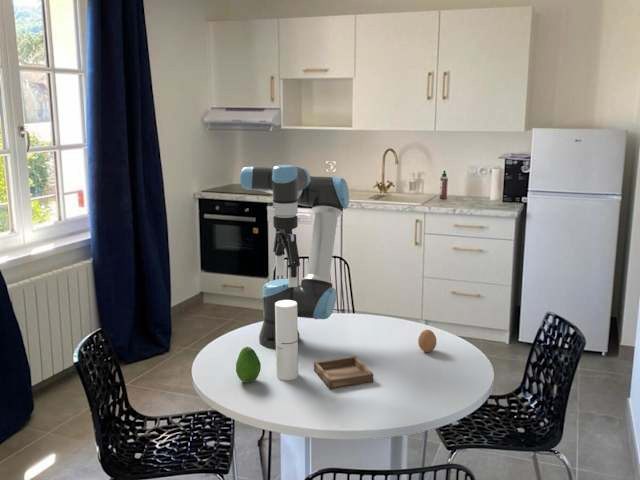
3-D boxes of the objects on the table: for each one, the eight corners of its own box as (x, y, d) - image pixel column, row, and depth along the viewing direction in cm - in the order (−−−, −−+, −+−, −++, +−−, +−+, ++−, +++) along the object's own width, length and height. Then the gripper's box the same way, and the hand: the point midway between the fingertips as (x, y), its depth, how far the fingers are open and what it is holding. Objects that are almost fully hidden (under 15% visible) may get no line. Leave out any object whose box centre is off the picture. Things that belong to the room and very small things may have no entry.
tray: (314, 370, 217) (313, 362, 217) (355, 364, 222) (355, 356, 222) (329, 389, 204) (329, 380, 203) (373, 382, 209) (373, 373, 208)
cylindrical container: (295, 381, 210) (294, 307, 204) (273, 379, 211) (272, 306, 205) (300, 371, 217) (299, 300, 211) (279, 370, 218) (278, 299, 212)
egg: (414, 350, 234) (414, 329, 232) (426, 346, 237) (427, 325, 235) (427, 356, 229) (428, 334, 227) (439, 352, 232) (440, 330, 230)
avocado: (237, 388, 205) (235, 352, 202) (235, 377, 213) (234, 343, 210) (262, 385, 207) (261, 350, 204) (259, 375, 214) (258, 341, 211)
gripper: (263, 209, 212) (264, 271, 217) (285, 223, 189) (286, 293, 194) (285, 207, 214) (286, 269, 219) (310, 221, 191) (310, 290, 196)
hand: (286, 280), depth 206 cm, fingers open, 13 cm apart
